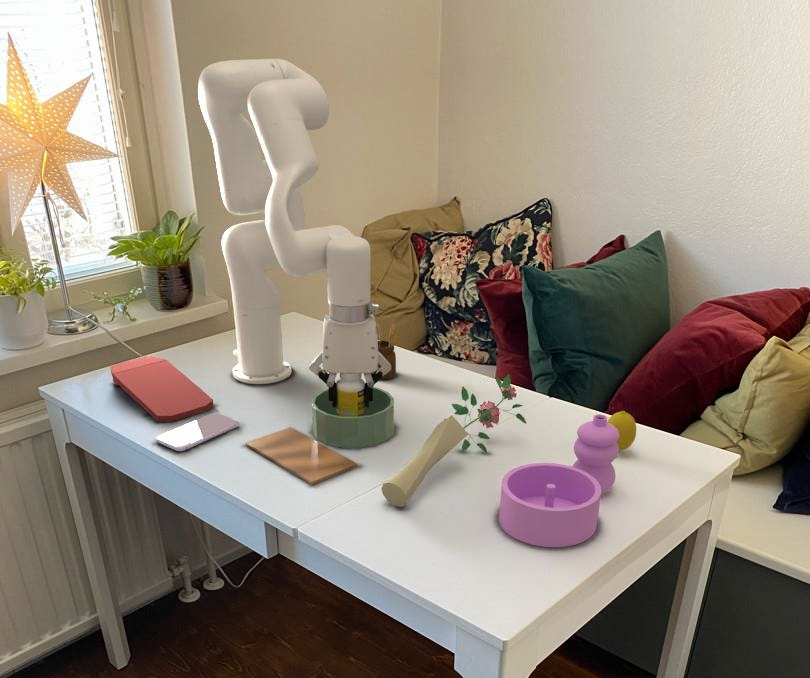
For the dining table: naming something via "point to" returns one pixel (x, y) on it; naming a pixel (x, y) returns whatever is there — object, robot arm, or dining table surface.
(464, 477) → the dining table surface
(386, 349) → the utensil holder
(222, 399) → the dining table surface
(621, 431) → the lemon
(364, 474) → the dining table surface
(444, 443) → the flower vase
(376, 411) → the bowl
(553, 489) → the container set
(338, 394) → the supplement bottle
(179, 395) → the red wedge block
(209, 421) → the mobile phone
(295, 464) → the wooden board
